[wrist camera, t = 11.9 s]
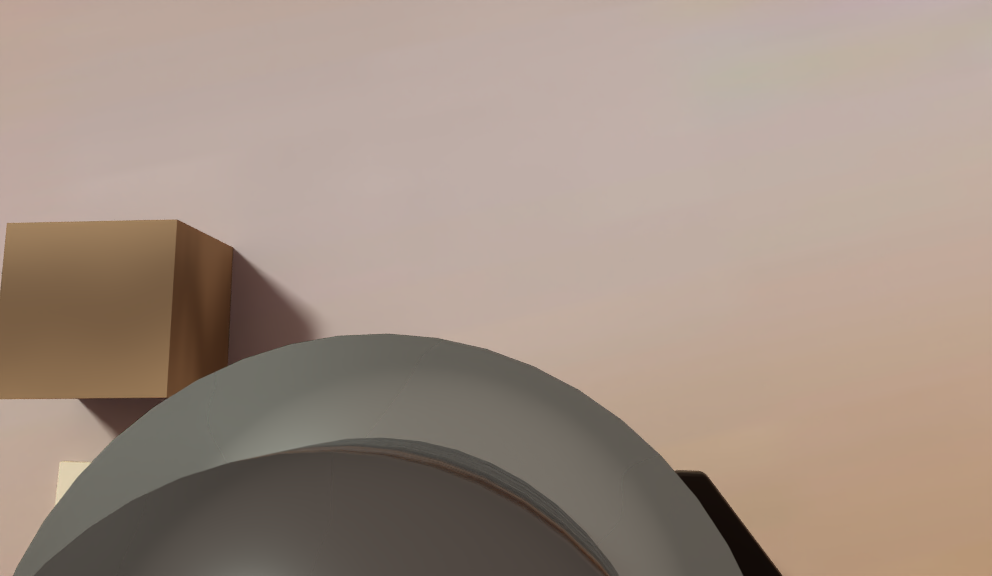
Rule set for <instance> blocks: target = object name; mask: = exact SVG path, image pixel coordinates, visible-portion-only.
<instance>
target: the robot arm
mask: <svg viewBox="0 0 992 576" xmlns="http://www.w3.org/2000/svg"><path fill="white" fill-rule="evenodd" d="M675 473H676V474H677V475H678V476H679V477H680V478H681V480H682V481H683V482H684V483H685V484H686V486H687V487H688V488H689V489H690V490H691V491H692V493H693V494H694V495H695V496H696V497H697V499H698V500H699V502H700V503H701V505H702V506H703V508H704V509H705V511H706V512H707V514H708V515H709V517H710V518H711V520H712V521H713V523H714V524H715V526H716V528H717V529H718V531H719V532H720V534H721V535H722V537H723V538H724V540H725V541H726V543H727V544H728V546H729V548H730V550H731V552H732V554H733V556H734V558H735V560H736V562H737V564H738V566H739V568H740V570H741V573H742V575H743V576H782V574H781V573H780V572H779V570H778V569H777V568H776V566H775V565H774V564H773V562H772V561H771V560H770V558H769V557H768V556H767V554H766V553H765V552H764V550H763V549H762V548H761V546H760V545H759V544H758V542H757V541H756V540H755V538H754V537H753V536H752V534H751V533H750V532H749V530H748V529H747V528H746V527H745V525H744V524H743V523H742V521H741V520H740V519H739V517H738V516H737V515H736V513H735V512H734V511H733V509H732V508H731V507H730V505H729V504H728V503H727V501H726V500H725V499H724V497H723V496H722V495H721V493H720V492H719V491H718V489H717V488H716V487H715V485H714V484H713V483H712V481H711V480H710V479H709V477H708V476H707V475H706V474H705V473H703V472H701V471H687V470H676V471H675Z"/></svg>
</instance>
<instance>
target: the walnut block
mask: <svg viewBox="0 0 992 576" xmlns="http://www.w3.org/2000/svg"><path fill="white" fill-rule="evenodd" d="M232 260H233V247H231V246H229V245H227V244H225V243H223V242H221V241H219V240H217V239H215V238H213V237H211V236H209V235H207V234H205V233H203V232H201V231H199V230H197V229H195V228H193V227H191V226H189V225H187V224H185V223H183V222H181V221H179V220H134V221H87V222H39V223H7V228H6V239H5V249H4V259H3V270H2V280H1V290H0V399H86V398H169V397H171V396H172V395H174V394H176V393H177V392H179V391H180V390H182V389H184V388H185V387H187V386H188V385H190V384H192V383H193V382H195V381H197V380H199V379H201V378H203V377H205V376H207V375H209V374H212V373H214V372H216V371H218V370H220V369H222V368H225V367H227V366H228V347H229V325H230V303H231V282H232Z"/></svg>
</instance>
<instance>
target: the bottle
mask: <svg viewBox="0 0 992 576" xmlns="http://www.w3.org/2000/svg"><path fill="white" fill-rule="evenodd" d="M13 576H743V575H742V573H741V570H740V568H739V566H738V564H737V562H736V560H735V558H734V556H733V554H732V552H731V550H730V548H729V546H728V544H727V543H726V541H725V540H724V538H723V537H722V535H721V534H720V532H719V531H718V529H717V528H716V526H715V524H714V523H713V521H712V520H711V518H710V517H709V515H708V514H707V512H706V511H705V509H704V508H703V506H702V505H701V503H700V502H699V500H698V499H697V497H696V496H695V495H694V494H693V493H692V491H691V490H690V489H689V488H688V487H687V486H686V484H685V483H684V482H683V481H682V480H681V478H680V477H679V476H678V475H677V474H676V473H675V471H674V470H673V469H672V468H671V467H670V466H669V464H668V463H667V462H666V461H665V460H664V459H663V457H662V456H661V455H660V454H659V453H657V452H656V451H655V450H654V449H653V448H652V447H651V446H650V445H649V444H648V443H646V442H645V441H644V440H643V439H642V438H641V437H640V436H639V435H638V434H637V433H636V432H634V431H633V430H632V429H631V428H630V427H629V426H628V425H627V424H626V423H625V422H623V421H622V420H621V419H620V418H618V417H617V416H615V415H614V414H612V413H611V412H610V411H608V410H607V409H605V408H604V407H602V406H601V405H600V404H598V403H597V402H595V401H594V400H592V399H591V398H590V397H588V396H587V395H585V394H584V393H583V392H581V391H580V390H578V389H576V388H574V387H572V386H570V385H568V384H566V383H564V382H563V381H561V380H559V379H557V378H555V377H553V376H551V375H549V374H547V373H545V372H543V371H542V370H540V369H538V368H536V367H534V366H531V365H529V364H526V363H523V362H520V361H518V360H515V359H512V358H509V357H507V356H504V355H501V354H499V353H496V352H493V351H490V350H488V349H484V348H480V347H475V346H471V345H466V344H462V343H457V342H453V341H448V340H444V339H439V338H431V337H420V336H409V335H397V334H369V335H346V336H335V337H329V338H324V339H318V340H312V341H307V342H301V343H295V344H290V345H286V346H283V347H280V348H277V349H274V350H271V351H267V352H264V353H261V354H258V355H255V356H251V357H248V358H245V359H242V360H240V361H238V362H235V363H233V364H231V365H229V366H227V367H225V368H222V369H220V370H218V371H216V372H214V373H212V374H209V375H207V376H205V377H203V378H201V379H199V380H197V381H195V382H193V383H192V384H190V385H188V386H187V387H185V388H184V389H182V390H180V391H179V392H177V393H176V394H174V395H172V396H171V397H169V398H168V399H166V400H164V401H163V402H161V403H160V404H158V405H156V406H155V407H153V408H152V409H151V410H150V411H148V412H147V413H146V414H145V415H143V416H142V417H141V418H140V419H138V420H137V421H136V422H135V423H134V424H132V425H131V426H130V427H129V428H127V429H126V430H125V431H124V432H122V433H121V434H120V435H119V436H118V437H116V438H115V439H114V440H113V441H112V442H111V443H110V444H109V445H108V446H107V447H106V448H105V449H104V450H103V451H102V452H101V453H100V454H99V455H98V456H97V457H96V458H95V459H94V460H93V461H92V462H91V464H90V465H89V466H88V467H87V468H86V469H85V470H84V471H83V472H82V473H81V474H80V475H79V476H78V477H77V478H76V479H75V481H74V482H73V483H72V485H71V486H70V487H69V489H68V490H67V491H66V493H65V494H64V495H63V497H62V498H61V499H60V500H59V502H58V503H57V504H56V506H55V507H54V508H53V510H52V511H51V512H50V514H49V515H48V516H47V518H46V519H45V520H44V522H43V524H42V525H41V527H40V529H39V530H38V532H37V534H36V536H35V537H34V539H33V541H32V542H31V544H30V546H29V547H28V549H27V551H26V553H25V554H24V556H23V558H22V559H21V561H20V563H19V564H18V566H17V568H16V570H15V573H14V575H13Z"/></svg>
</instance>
